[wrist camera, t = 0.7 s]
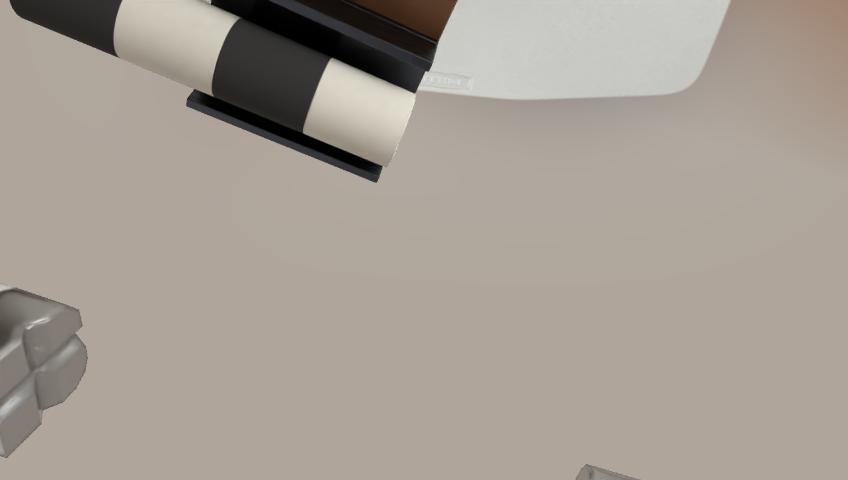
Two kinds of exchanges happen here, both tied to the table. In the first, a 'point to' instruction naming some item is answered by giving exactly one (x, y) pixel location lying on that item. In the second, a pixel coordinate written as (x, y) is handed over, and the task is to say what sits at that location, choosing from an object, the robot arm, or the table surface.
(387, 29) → the tray
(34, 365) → the robot arm
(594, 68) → the table surface
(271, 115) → the roll
